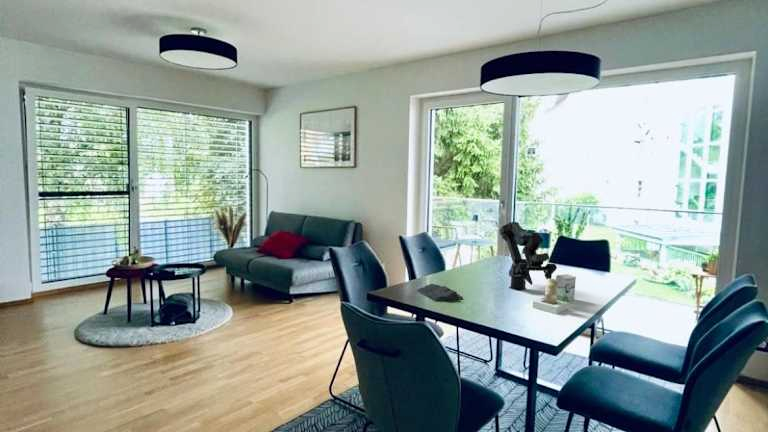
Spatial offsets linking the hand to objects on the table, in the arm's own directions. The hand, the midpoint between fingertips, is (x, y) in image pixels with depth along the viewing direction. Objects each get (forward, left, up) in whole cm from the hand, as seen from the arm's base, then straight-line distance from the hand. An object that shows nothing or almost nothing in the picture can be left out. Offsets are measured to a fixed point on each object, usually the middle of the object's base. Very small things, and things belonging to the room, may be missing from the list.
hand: (541, 284), depth 198 cm
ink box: (+5, +15, -9) cm, 18 cm away
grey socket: (+7, -4, -9) cm, 12 cm away
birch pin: (+7, -4, -9) cm, 12 cm away
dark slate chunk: (-36, -29, -9) cm, 48 cm away
